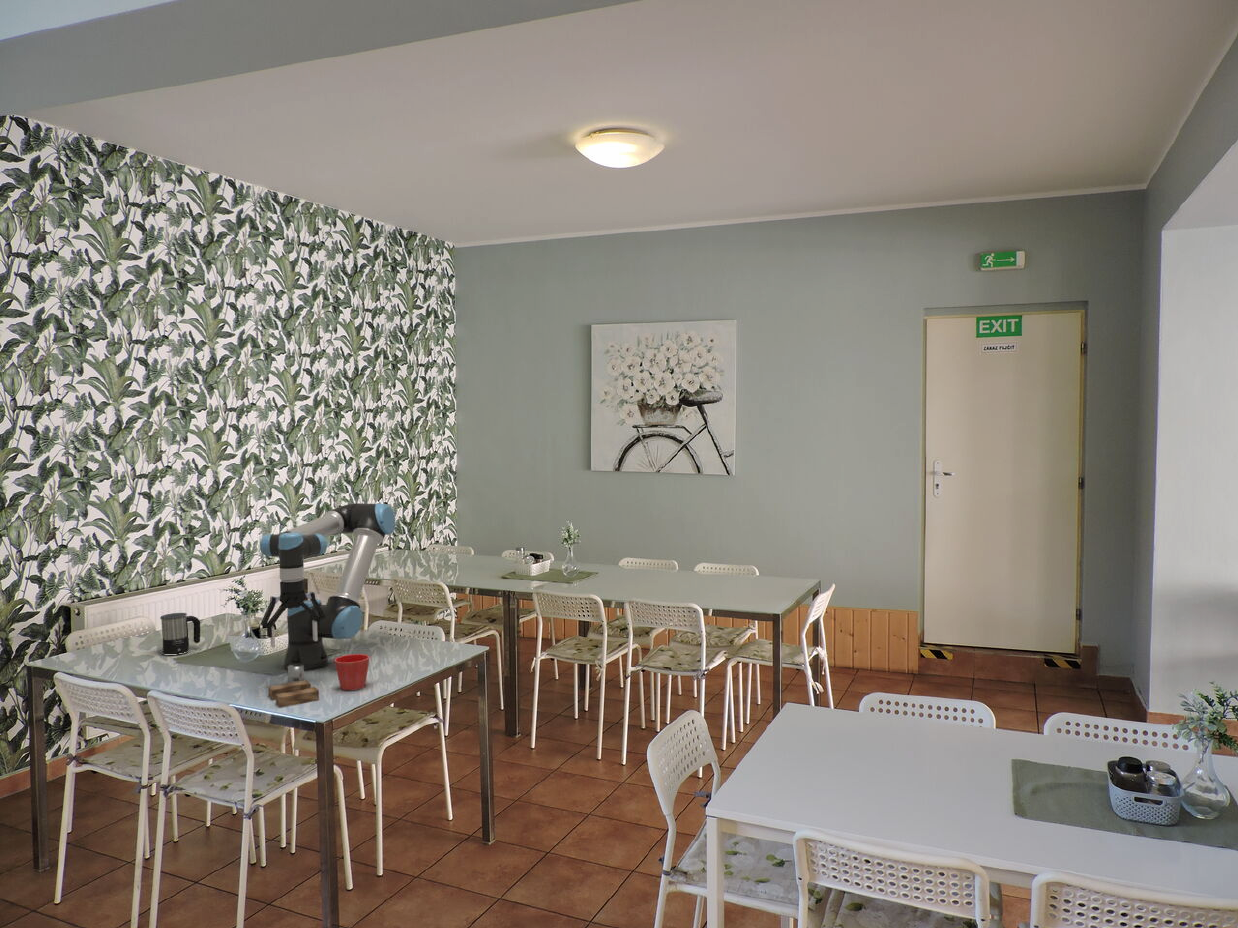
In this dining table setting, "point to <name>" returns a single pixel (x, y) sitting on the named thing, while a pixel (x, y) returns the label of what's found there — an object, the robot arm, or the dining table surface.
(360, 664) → the flower pot
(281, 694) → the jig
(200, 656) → the dining table surface
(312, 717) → the dining table surface
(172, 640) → the milk frother
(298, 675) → the bushing
